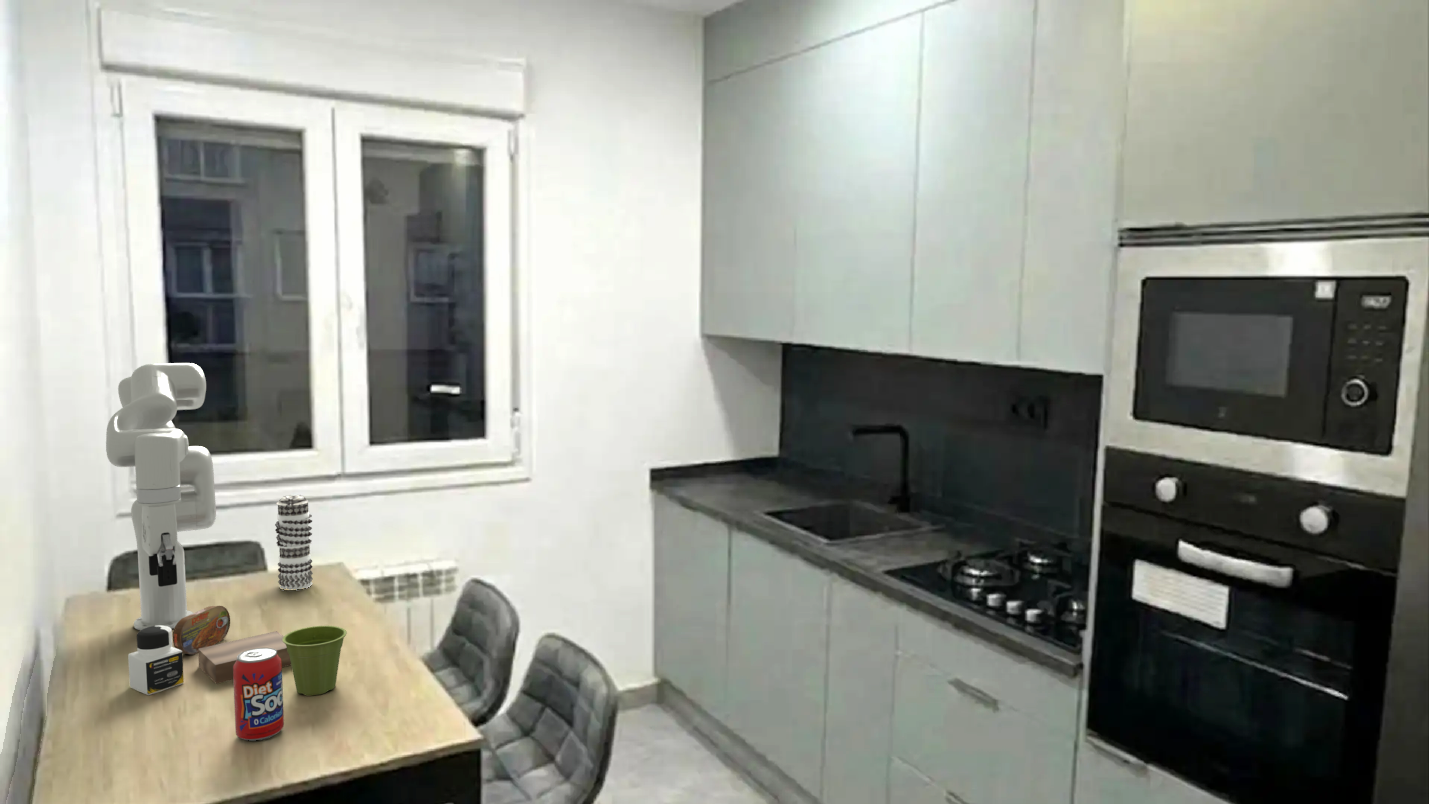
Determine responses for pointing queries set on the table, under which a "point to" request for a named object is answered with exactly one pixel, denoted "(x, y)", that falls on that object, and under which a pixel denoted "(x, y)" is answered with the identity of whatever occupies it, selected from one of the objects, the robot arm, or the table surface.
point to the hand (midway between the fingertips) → (163, 579)
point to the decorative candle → (294, 542)
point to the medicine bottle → (155, 661)
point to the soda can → (258, 694)
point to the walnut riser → (224, 655)
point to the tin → (201, 629)
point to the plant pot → (315, 657)
